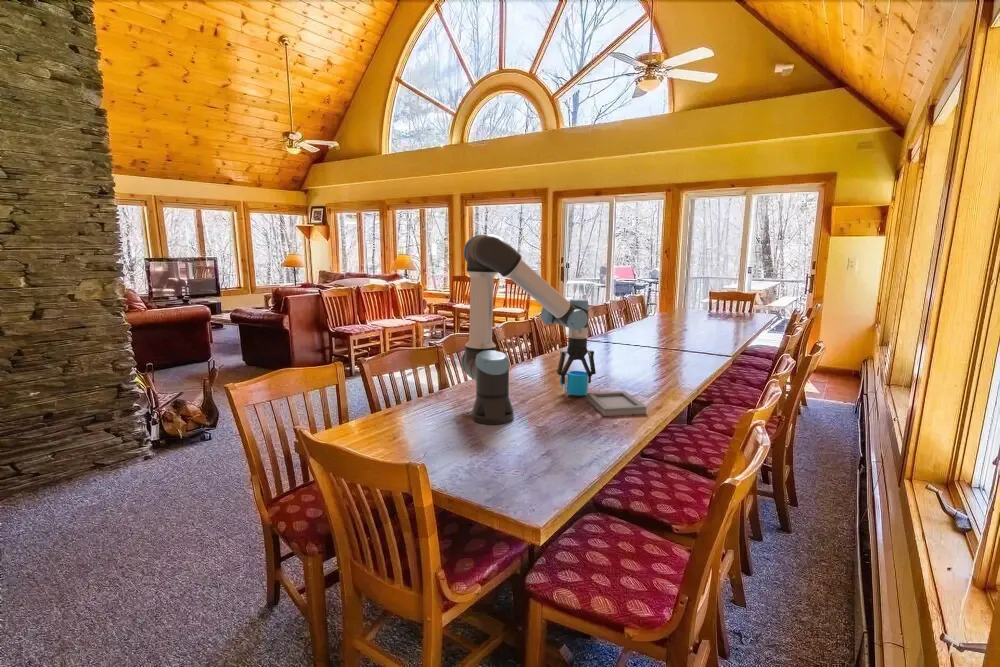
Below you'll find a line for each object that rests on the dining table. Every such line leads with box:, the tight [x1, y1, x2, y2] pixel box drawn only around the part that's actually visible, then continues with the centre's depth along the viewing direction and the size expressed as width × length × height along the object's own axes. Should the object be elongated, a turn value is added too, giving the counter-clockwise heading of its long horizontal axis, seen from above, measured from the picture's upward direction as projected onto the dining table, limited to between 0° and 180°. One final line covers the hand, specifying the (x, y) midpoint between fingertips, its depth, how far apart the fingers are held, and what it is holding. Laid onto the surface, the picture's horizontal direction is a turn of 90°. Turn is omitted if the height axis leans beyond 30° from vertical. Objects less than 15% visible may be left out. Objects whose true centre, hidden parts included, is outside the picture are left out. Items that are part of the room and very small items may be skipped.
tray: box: [586, 390, 647, 417], centre depth 189 cm, size 16×20×3 cm
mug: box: [559, 370, 588, 396], centre depth 204 cm, size 12×8×8 cm
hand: (575, 391), depth 204 cm, fingers closed on mug, 8 cm apart
